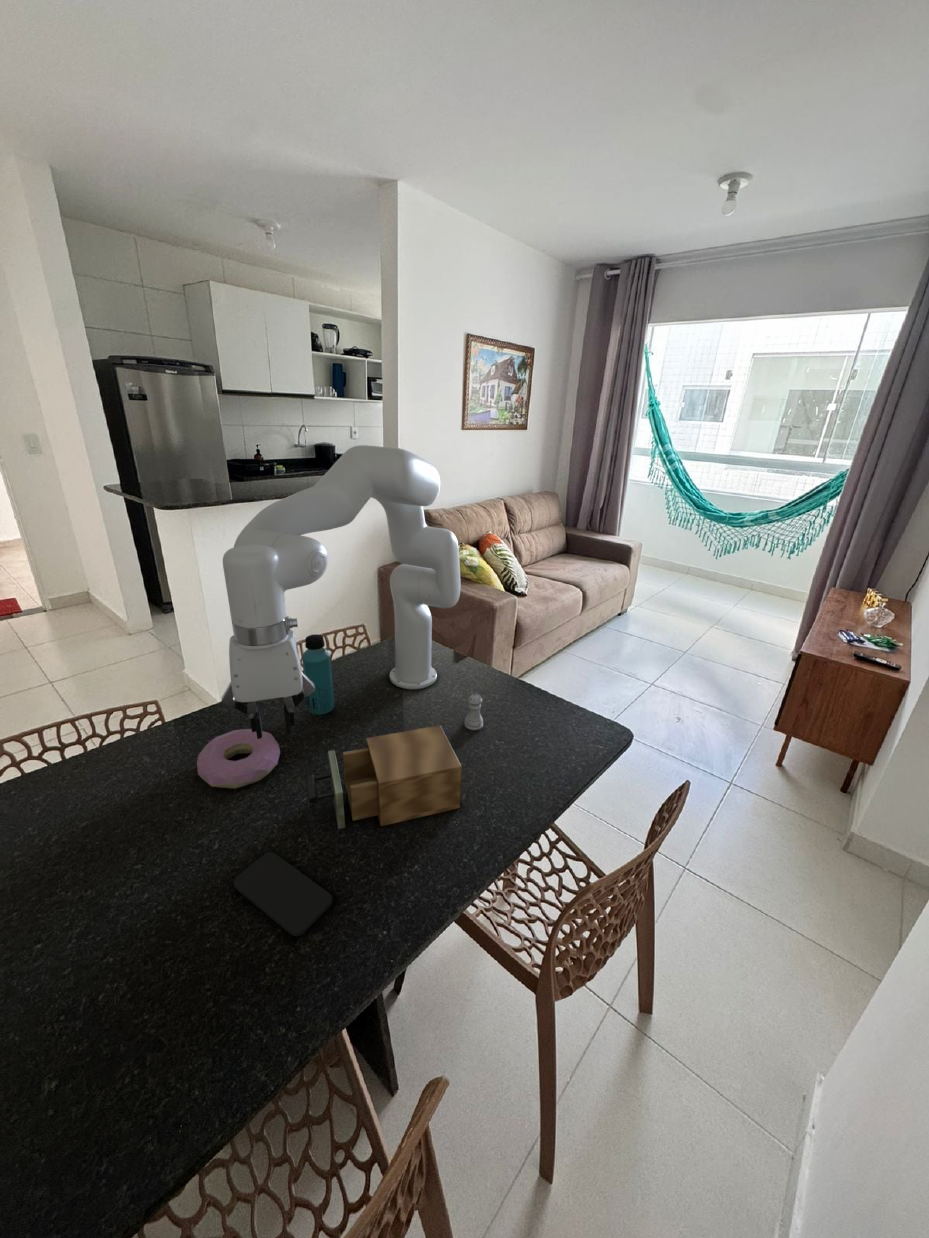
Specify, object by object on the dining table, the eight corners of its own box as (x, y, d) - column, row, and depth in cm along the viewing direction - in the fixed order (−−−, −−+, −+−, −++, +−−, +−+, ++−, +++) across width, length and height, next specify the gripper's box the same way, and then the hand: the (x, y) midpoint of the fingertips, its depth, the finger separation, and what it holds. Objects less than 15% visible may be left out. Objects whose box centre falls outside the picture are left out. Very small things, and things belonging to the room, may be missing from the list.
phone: (296, 936, 71) (229, 881, 78) (296, 940, 71) (230, 885, 78) (335, 897, 76) (270, 849, 84) (336, 900, 77) (270, 852, 84)
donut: (237, 736, 112) (234, 717, 110) (296, 753, 107) (294, 734, 105) (179, 782, 98) (175, 761, 96) (244, 804, 94) (240, 782, 92)
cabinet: (380, 826, 90) (379, 782, 86) (367, 778, 101) (366, 738, 97) (459, 807, 95) (461, 766, 91) (439, 764, 106) (440, 725, 102)
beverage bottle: (339, 706, 124) (333, 631, 116) (329, 722, 118) (323, 644, 110) (312, 703, 124) (305, 629, 116) (302, 719, 118) (294, 642, 110)
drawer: (312, 835, 87) (309, 799, 83) (307, 788, 97) (304, 755, 93) (414, 811, 92) (414, 777, 89) (400, 770, 102) (399, 738, 99)
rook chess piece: (461, 728, 118) (462, 698, 114) (468, 718, 121) (469, 689, 118) (479, 733, 116) (481, 703, 113) (485, 722, 120) (488, 693, 117)
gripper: (317, 614, 81) (324, 710, 89) (201, 624, 76) (219, 726, 83) (321, 633, 75) (329, 736, 82) (195, 647, 70) (216, 755, 77)
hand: (274, 730), depth 83 cm, fingers open, 3 cm apart
